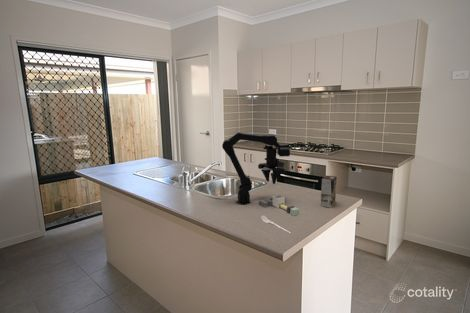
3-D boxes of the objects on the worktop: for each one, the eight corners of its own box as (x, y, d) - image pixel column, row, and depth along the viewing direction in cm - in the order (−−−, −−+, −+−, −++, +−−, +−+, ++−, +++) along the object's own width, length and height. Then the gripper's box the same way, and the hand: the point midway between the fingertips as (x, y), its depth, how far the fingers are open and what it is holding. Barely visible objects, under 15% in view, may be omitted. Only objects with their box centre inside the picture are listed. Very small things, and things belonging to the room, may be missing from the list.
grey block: (272, 205, 162) (272, 196, 161) (279, 203, 165) (279, 194, 164) (277, 208, 158) (278, 198, 157) (284, 206, 160) (284, 197, 159)
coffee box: (331, 208, 158) (333, 180, 155) (320, 205, 161) (321, 178, 158) (335, 203, 165) (337, 176, 162) (324, 201, 169) (325, 174, 166)
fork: (287, 235, 128) (288, 231, 127) (259, 219, 144) (259, 216, 144) (292, 233, 130) (293, 229, 129) (264, 218, 146) (264, 214, 145)
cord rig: (259, 204, 165) (259, 199, 164) (280, 199, 172) (280, 194, 172) (284, 218, 145) (284, 212, 144) (307, 212, 152) (308, 206, 152)
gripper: (292, 157, 159) (292, 184, 162) (272, 152, 175) (272, 177, 178) (277, 159, 153) (276, 187, 156) (257, 154, 169) (257, 179, 172)
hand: (270, 182), depth 166 cm, fingers open, 6 cm apart
